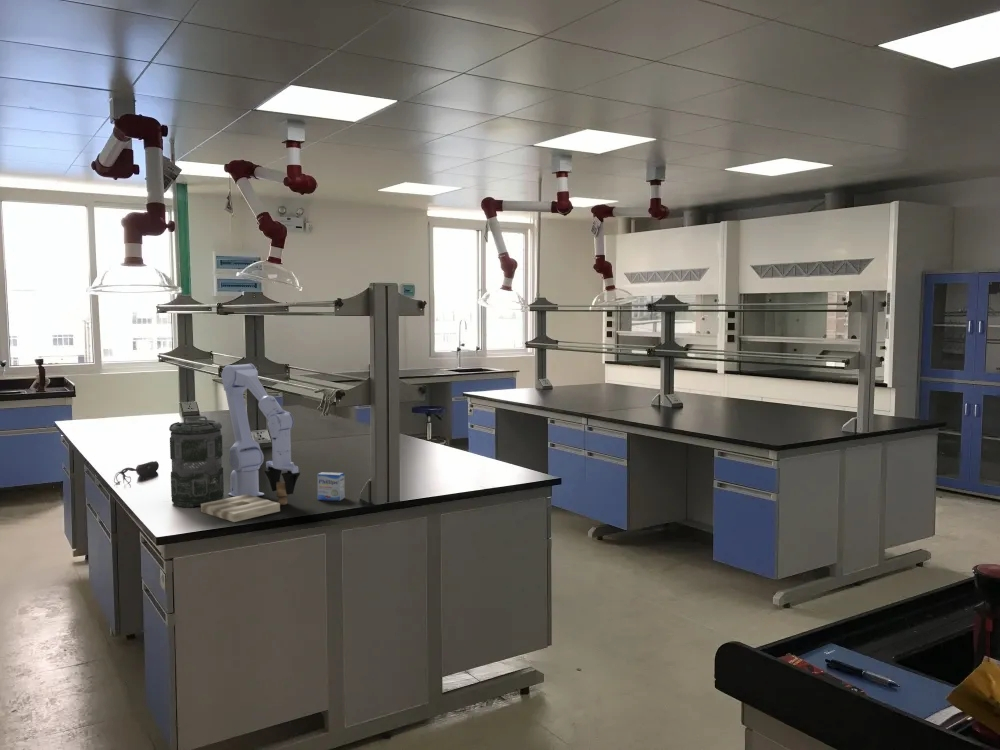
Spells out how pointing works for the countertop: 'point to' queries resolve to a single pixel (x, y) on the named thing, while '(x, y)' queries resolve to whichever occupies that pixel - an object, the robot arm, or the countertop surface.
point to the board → (240, 507)
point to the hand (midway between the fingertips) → (282, 492)
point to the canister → (196, 462)
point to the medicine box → (331, 486)
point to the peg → (281, 493)
